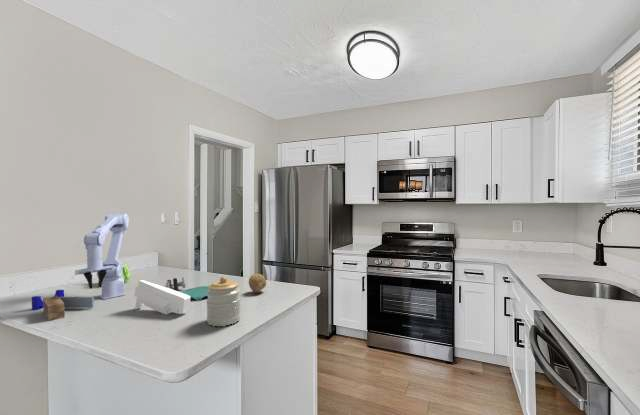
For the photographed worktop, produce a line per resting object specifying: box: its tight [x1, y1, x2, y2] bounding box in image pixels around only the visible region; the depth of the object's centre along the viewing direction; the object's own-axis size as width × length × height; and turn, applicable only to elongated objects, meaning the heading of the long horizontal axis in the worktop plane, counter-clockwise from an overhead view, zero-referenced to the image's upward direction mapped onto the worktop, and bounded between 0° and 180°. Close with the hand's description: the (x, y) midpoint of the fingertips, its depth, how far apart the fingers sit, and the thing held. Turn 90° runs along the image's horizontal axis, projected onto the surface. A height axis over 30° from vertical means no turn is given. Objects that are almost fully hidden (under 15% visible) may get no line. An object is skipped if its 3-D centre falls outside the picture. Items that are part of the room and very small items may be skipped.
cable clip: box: [31, 289, 65, 311], centre depth 142 cm, size 12×4×6 cm, turn 170°
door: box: [59, 296, 95, 309], centre depth 137 cm, size 2×16×5 cm, turn 88°
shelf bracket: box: [134, 279, 192, 315], centre depth 131 cm, size 6×27×14 cm, turn 71°
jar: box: [205, 276, 242, 327], centre depth 119 cm, size 13×13×18 cm
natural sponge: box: [248, 273, 267, 294], centre depth 157 cm, size 9×9×10 cm
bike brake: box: [162, 276, 187, 292], centre depth 164 cm, size 14×7×20 cm
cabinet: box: [42, 295, 66, 322], centre depth 129 cm, size 5×16×6 cm, turn 48°
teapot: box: [120, 263, 131, 284], centre depth 180 cm, size 16×14×13 cm
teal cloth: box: [180, 285, 210, 301], centre depth 160 cm, size 20×30×2 cm, turn 152°
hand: (95, 287), depth 141 cm, fingers open, 3 cm apart
